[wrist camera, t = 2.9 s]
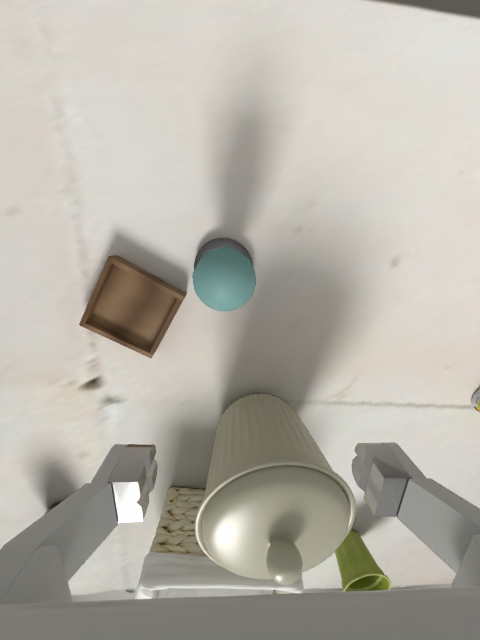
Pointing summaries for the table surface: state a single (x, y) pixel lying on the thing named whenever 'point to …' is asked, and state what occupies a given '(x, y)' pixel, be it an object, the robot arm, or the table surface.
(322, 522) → the canister
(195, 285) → the cap
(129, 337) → the walnut tray
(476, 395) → the supplement bottle
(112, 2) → the table surface
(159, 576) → the storage basket
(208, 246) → the post
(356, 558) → the plant pot
